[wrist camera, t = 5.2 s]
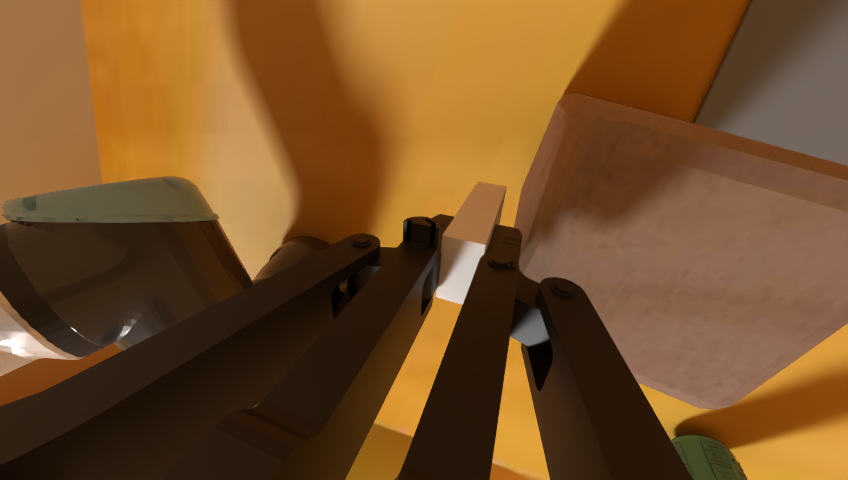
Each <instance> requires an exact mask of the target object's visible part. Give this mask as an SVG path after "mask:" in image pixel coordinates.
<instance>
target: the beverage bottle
mask: <svg viewBox="0 0 848 480" xmlns="http://www.w3.org/2000/svg"><path fill="white" fill-rule="evenodd" d="M671 442H672V444H673V445H674V447H675V449H676V450H677V452H678V454H679V456H680V457H681V459H682V461H683V463H684V464H685V466H686V468H687V470H688V471H689V473H690V475H691V477H692V478H693V480H747V478H746V476H745V474H744V472H743V469H742V468H741V466H740V463H738V462H737V461H738V460H737V461H736V459H735V458H736V457H735V456H733V454H732V453H731V451H730V450H729V449H728V448H727V447H726V446H725V445H724V444H722V443H721V442H719V441H717V440H714V439H712V438H709V437H705V436H699V435H684V436H679V437H676V438H674V439H672V440H671ZM734 457H735V458H734ZM741 470H742V471H741ZM742 472H743V473H742ZM743 474H744V475H743Z"/></svg>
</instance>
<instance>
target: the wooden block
mask: <svg viewBox="0 0 848 480" xmlns="http://www.w3.org/2000/svg"><path fill="white" fill-rule="evenodd" d="M514 228H517V229H519V230H520V232H521V233H522V235H523V236H522V243H521V250H520V257H519V269H520V271H521V272H522V273H523V274H524V275H525V276H526V277H528V278H529V279H531V280H533V281H535V282H538V283H540V282H541V281H542V280H543V279H545V278H548V277H558V278H564V279H567V280H570V281H572V282H574V283H575V284H577V285H578V286H580V287H581V288H582V289H583V290H584V291H585V293H586V294H587V296H588V298H589V299H590V301H591V303H592V305H593V306H594V308H595V310H596V312H597V313H598V315H599V317H600V319H601V320H602V322H603V324H604V326H605V327H606V329H607V331H608V332H609V334H610V336H611V338H612V339H613V341H614V343H615V345H616V346H617V348H618V350H619V352H620V353H621V355H622V357H623V358H624V360H625V362H626V364H627V365H628V367H629V369H630V371H631V372H632V374H633V376H634V378H635V379H636V381H637V382H638V383H640V384H643V385H645V386H647V387H650V388H652V389H655V390H657V391H659V392H662V393H664V394H667V395H669V396H671V397H674V398H676V399H679V400H681V401H683V402H686V403H688V404H691V405H693V406H695V407H698V408H703V409H712V410H717V409H722V408H726V407H731V406H732V405H734V404H735V403H736V402H738V401H739V400H741V399H742V398H743V397H745V396H746V395H748V394H749V393H750V392H752V391H753V390H755V389H756V388H757V387H759V386H760V385H762V384H763V383H764V382H766V381H767V380H769V379H770V378H771V377H773V376H774V375H776V374H777V373H779V372H780V371H781V370H783V369H784V368H786V367H787V366H788V365H790V364H791V363H793V362H794V361H795V360H797V359H798V358H800V357H801V356H802V355H804V354H805V353H807V352H808V351H809V350H811V349H812V348H814V347H815V346H816V345H818V344H819V343H821V342H822V341H823V340H825V339H826V338H828V337H829V336H831V335H832V334H833V333H835V332H836V331H838V330H839V329H840V328H842V327H843V326H845V325H846V324H847V323H848V166H846V165H843V164H839V163H836V162H832V161H828V160H825V159H821V158H817V157H814V156H810V155H806V154H803V153H799V152H796V151H792V150H788V149H785V148H781V147H777V146H774V145H770V144H766V143H763V142H759V141H756V140H752V139H748V138H745V137H741V136H737V135H734V134H730V133H727V132H723V131H719V130H716V129H712V128H708V127H705V126H701V125H697V124H694V123H690V122H687V121H683V120H679V119H675V118H672V117H668V116H664V115H660V114H656V113H652V112H648V111H645V110H641V109H637V108H633V107H629V106H625V105H621V104H618V103H614V102H610V101H606V100H602V99H598V98H594V97H591V96H587V95H583V94H579V93H570V94H565V95H564V96H563V97H562V99H561V100H560V101H559V102H558V104H557V106H556V108H555V111H554V113H553V116H552V118H551V120H550V123H549V125H548V127H547V130H546V132H545V135H544V137H543V139H542V142H541V144H540V147H539V149H538V151H537V154H536V156H535V158H534V161H533V163H532V166H531V168H530V170H529V173H528V175H527V177H526V180H525V182H524V185H523V187H522V189H521V195H520V200H519V205H518V210H517V215H516V220H515V225H514Z"/></svg>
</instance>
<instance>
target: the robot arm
mask: <svg viewBox="0 0 848 480" xmlns="http://www.w3.org/2000/svg"><path fill="white" fill-rule="evenodd" d="M506 188H507V187H506V186H500V185H494V184H488V183H482V182H477V184H476V186H475V187H474V189H473V190H472V192H471V193H470V195H469V196H468V198H467V199H466V201H465V202H464V204H463V205H462V207H461V208H460V210H459V211H458V213H457V214H456V216H455V217H452V216H447V215H442V214H440V215H437V216H435V217H433V218H432V219H431V218H428V217H411V218H407V219H406V220H404V224H403V242H402V243H401V244H400V245H399V246H398V247H397V248H390V247H380V240H379V239H378V238H377V237H375V236H373V235H369V234H356V235H352V236H350V237H347V238H345V239H343V240H341V241H339V242H337V243H335V244H333V245H329V244H327V243H325V242H323V241H321V240H318V239H315V238H311V237H298V238H294V239H292V240H290V241H288V242H287V243H285V244H283V245H282V246H280V247H279V248H278V249H277V250H276V251H275V252H274V253H273V254H272V256H271V257H270V260H269V262H268V263H267V264H266V265H265V266H264V267H263V268H262V269H261V271H260V272H259V273H258V275H257V276H256V277H255V279H254V280H251V278H250V277H249V275H248V273H247V271H246V269H245V268H244V266H243V264H242V262H241V261H240V259H239V257H238V255H237V253H236V252H235V250H234V248H233V246H232V245H231V243H230V241H229V239H228V238H227V236H226V234H225V232H224V230H223V229H222V227H221V225H220V223H219V222H218V220H217V219H219V216H218V215H217V214H215V213H214V212H213V211H212V209H211V208H210V206H209V204H208V203H207V201H206V200H205V198H204V197H203V195H202V193H201V192H200V190H199V189H198V188H197V186H196V185H195V184H193V183H192V182H190V181H189V180H187V179H184V178H181V177H174V176H167V177H156V178H146V179H138V180H130V181H123V182H115V183H108V184H101V185H94V186H87V187H81V188H74V189H69V190H62V191H56V192H50V193H44V194H40V195H35V196H30V197H26V198H25V197H24V198H15V199H11V200H8V201H6V202H4V203H3V204H2V208H3V211H4V212H3V214H2V215H3V216H4V217H5V218H6V219H7V220H10V221H11V222H9V223H6V224H2V225H0V376H1V375H4V374H6V373H8V372H10V371H12V370H14V369H17V368H19V367H21V366H23V365H25V364H27V363H29V362H31V361H34V360H36V359H40V358H56V359H69V360H78V359H81V358H84V357H86V356H89V355H91V354H92V353H94V352H97V351H99V350H100V349H103V348H104V347H106V346H109V345H111V344H115V345H116V346H117V347H118V348H119V349H121V350H122V352H120V353H118V354H116V355H114V356H112V357H110V358H108V359H106V360H104V361H102V362H100V363H98V364H96V365H94V366H92V367H90V368H88V369H86V370H84V371H82V372H81V373H78V374H76V375H74V376H72V377H70V378H69V379H66V380H64V381H62V382H60V383H58V384H56V385H54V386H52V387H50V388H48V389H46V390H44V391H42V392H40V393H37V394H34V395H31V396H28V397H26V398H23V399H20V400H17V401H14V402H11V403H8V404H6V405H3V406H0V480H345V479H346V477H347V475H348V473H349V471H350V469H351V467H352V465H353V463H354V461H355V459H356V457H357V455H358V453H359V450H360V449H361V447H362V445H363V443H364V441H365V439H366V437H367V434H368V433H369V431H370V429H371V427H372V425H373V423H374V421H375V419H376V417H377V415H378V413H379V411H380V409H381V407H382V405H383V403H384V401H385V399H386V397H387V395H388V393H389V391H390V389H391V387H392V385H393V383H394V381H395V379H396V377H397V375H398V373H399V371H400V368H401V366H402V364H403V362H404V360H405V358H406V356H407V354H408V352H409V350H410V348H411V346H412V344H413V342H414V340H415V338H416V336H417V334H418V332H419V330H420V328H421V326H422V324H423V322H424V320H425V318H426V316H427V314H428V312H429V310H430V308H431V306H432V302H433V294H434V292H435V290H436V288H437V293H436V297H437V298H441V299H444V300H448V301H452V302H455V303H459V304H462V308H461V311H460V313H459V316H458V319H457V322H456V324H455V327H454V330H453V332H452V335H451V338H450V340H449V343H448V346H447V348H446V351H445V354H444V357H443V359H442V362H441V365H440V367H439V370H438V373H437V375H436V378H435V381H434V383H433V386H432V389H431V391H430V394H429V397H428V400H427V402H426V405H425V408H424V410H423V413H422V416H421V418H420V421H419V424H418V426H417V429H416V432H415V434H414V437H413V440H412V443H411V445H410V448H409V451H408V453H407V456H406V459H405V461H404V464H403V467H402V469H401V471H400V473H399V475H398V477H397V478H396V479H395V480H489V479H490V472H491V465H492V458H493V451H494V444H495V437H496V430H497V423H498V416H499V409H500V402H501V395H502V388H503V381H504V374H505V367H506V359H507V352H508V345H509V338H510V336H511V337H512V338H514V339H516V340H518V341H519V342H521V350H522V355H523V359H524V364H525V368H526V373H527V377H528V382H529V386H530V391H531V395H532V400H533V404H534V409H535V413H536V418H537V422H538V427H539V431H540V436H541V440H542V445H543V449H544V454H545V458H546V463H547V467H548V472H549V476H550V480H693V478H692V477H691V475H690V473H689V471H688V470H687V468H686V466H685V464H684V463H683V461H682V459H681V457H680V456H679V454H678V452H677V450H676V449H675V447H674V445H673V444H672V442H671V440H670V438H669V437H668V435H667V433H666V431H665V430H664V428H663V426H662V424H661V423H660V421H659V419H658V418H657V416H656V414H655V412H654V411H653V409H652V407H651V405H650V404H649V402H648V400H647V398H646V397H645V395H644V393H643V391H642V390H641V388H640V386H639V385H638V383H637V381H636V379H635V378H634V376H633V374H632V372H631V371H630V369H629V367H628V365H627V364H626V362H625V360H624V358H623V357H622V355H621V353H620V352H619V350H618V348H617V346H616V345H615V343H614V341H613V339H612V338H611V336H610V334H609V332H608V331H607V329H606V327H605V326H604V324H603V322H602V320H601V319H600V317H599V315H598V313H597V312H596V310H595V308H594V306H593V305H592V303H591V301H590V299H589V298H588V296H587V294H586V293H585V291H584V290H583V289H582V288H581V287H580V286H578V285H577V284H575V283H574V282H572V281H570V280H567V279H564V278H558V277H548V278H545V279H543V280H542V281H541V282H540V283H538V282H535V281H533V280H531V279H529V278H528V277H526V276H525V275H524V274H523V273H522V272H521V271H520V269H519V257H520V250H521V243H522V236H523V235H522V233H521V232H520V230H519V229H517V228H512V227H507V226H502V225H499V222H500V217H501V212H502V207H503V203H504V198H505V193H506Z"/></svg>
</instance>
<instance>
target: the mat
mask: <svg viewBox="0 0 848 480" xmlns="http://www.w3.org/2000/svg"><path fill="white" fill-rule="evenodd" d="M693 123H694V124H697V125H701V126H705V127H708V128H712V129H716V130H719V131H723V132H727V133H730V134H734V135H737V136H741V137H745V138H748V139H752V140H756V141H759V142H763V143H766V144H770V145H774V146H777V147H781V148H785V149H788V150H792V151H796V152H799V153H803V154H806V155H810V156H814V157H817V158H821V159H825V160H828V161H832V162H836V163H839V164H843V165H846V166H848V0H751V2H750V4H749V6H748V8H747V10H746V12H745V14H744V17H743V19H742V21H741V23H740V25H739V27H738V29H737V31H736V33H735V36H734V38H733V40H732V42H731V44H730V46H729V48H728V50H727V53H726V55H725V57H724V59H723V61H722V63H721V65H720V67H719V69H718V72H717V74H716V76H715V78H714V80H713V82H712V84H711V86H710V88H709V91H708V93H707V95H706V97H705V99H704V101H703V103H702V105H701V107H700V110H699V112H698V114H697V116H696V118H695V120H694V122H693Z"/></svg>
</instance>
